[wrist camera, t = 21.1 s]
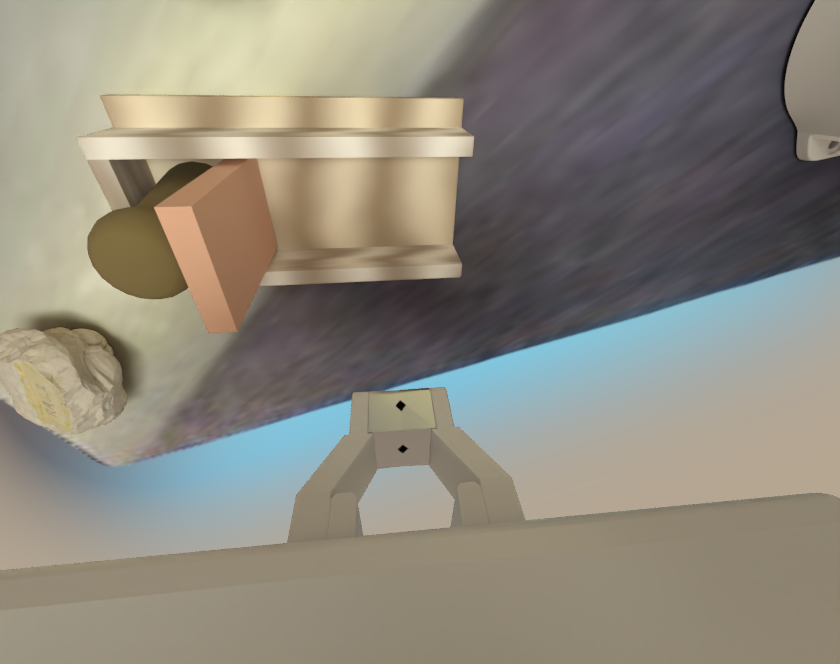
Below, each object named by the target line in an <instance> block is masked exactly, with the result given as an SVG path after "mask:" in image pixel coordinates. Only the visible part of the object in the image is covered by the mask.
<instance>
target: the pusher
mask: <svg viewBox="0 0 840 664" xmlns="http://www.w3.org/2000/svg"><path fill="white" fill-rule="evenodd" d="M154 209H155V211H156V213H157V216H158V218H159V220H160V223H161V225H162V227H163V230H164V232H165V234H166V236H167V239H168V241H169V243H170V246H171V248H172V250H173V253H174V255H175V257H176V260H177V262H178V264H179V267H180V269H181V271H182V274H183V276H184V278H185V280H186V283H187V285H188V287H189V290H190V292H191V294H192V297H193V299H194V301H195V304H196V306H197V308H198V311H199V313H200V315H201V318H202V320H203V322H204V324H205V327H206V329H207V331H208V333H222V332H237V331H238V329H239V327H240V325H241V323H242V321H243V319H244V317H245V314H246V312H247V310H248V308H249V306H250V304H251V302H252V300H253V298H254V296H255V293H256V291H257V289H258V287H259V285H260V283H261V281H262V279H263V277H264V275H265V272H266V270H267V268H268V266H269V264H270V262H271V260H272V258H273V256H274V254H275V251H276V249H277V247H278V246H277V241H276V237H275V233H274V229H273V225H272V221H271V216H270V212H269V208H268V204H267V200H266V195H265V191H264V187H263V183H262V179H261V175H260V170H259V166H258V162H257V158H237V159H223V160H222V161H220V162H219V163H218V164H216V165H215V166H213V167H212V168H210V169H209V170H207V171H206V172H204V173H203V174H202V175H200V176H199V177H197V178H196V179H194V180H193V181H191V182H190V183H188V184H187V185H186V186H184V187H183V188H181V189H180V190H178V191H177V192H175V193H174V194H172V195H171V196H169V197H168V198H167V199H165V200H164V201H162V202H161V203H159V204H158V205H156V206H155V207H154Z"/></svg>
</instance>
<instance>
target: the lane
mask: <svg viewBox="0 0 840 664" xmlns="http://www.w3.org/2000/svg"><path fill="white" fill-rule="evenodd" d="M100 98H101V100H102V102H103V104H104V107H105V109H106V111H107V114H108V116H109V118H110V120H111V123H112V125H113V127H114V128H110V129H106V130H102V131H99V132H95V133H91V134H87V135H83V136H79V137H76V139H77V141H78V143H79V145H80V147H81V149H82V151H83V153H84V155H85V157H86V159H87V161H88V163H89V165H90V167H91V169H92V171H93V173H94V175H95V177H96V179H97V181H98V183H99V185H100V187H101V189H102V191H103V193H104V195H105V197H106V199H107V201H108V203H109V205H110V207H111V209H112V211H113V210H116V209H121V208H127V207H134V206H137V205H138V204H139V203H140V202H141V201H142V199H143V198H144V197H145V196H146V195H147V194H148V193H149V192H150V190H151V189H152V188H153V187H154V186H155V185H156V184H157V183H158V182H159V180H160V179H161V178H162V177H163V176H164V175H165V174H166V173H167V171H168V170H170V169H171V168H173V167H174V166H176V165H177V164H179V163H185V162H190V161H193V162H200V163H206V164H209V165H211V166H215V165H216V164H218V163H219V162H220V161H222V160H223V159H237V158H257V162H258V166H259V170H260V175H261V179H262V183H263V187H264V191H265V195H266V200H267V204H268V208H269V212H270V216H271V221H272V225H273V229H274V233H275V237H276V241H277V246H278V247H277V249H276V251H275V254H274V256H273V258H272V260H271V262H270V264H269V266H268V268H267V270H266V272H265V275H264V277H263V279H262V281H261V283H260V285H259V286H274V285H296V284H318V283H341V282H363V281H385V280H408V279H430V278H452V277H461V270H462V263H461V261H460V259H459V256H458V254H457V252H456V250H455V248H454V246H453V232H454V219H455V206H456V192H457V179H458V166H459V157H472V155H473V145H474V136H473V135H471V134H470V133H468V132H467V131H465V130H464V129H463V128H461V126H462V113H463V99H462V98H420V97H314V96H208V95H101V96H100ZM188 289H189V288H188Z"/></svg>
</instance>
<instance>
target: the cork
mask: <svg viewBox="0 0 840 664" xmlns="http://www.w3.org/2000/svg"><path fill="white" fill-rule="evenodd" d="M212 167H213V166H211V165H209V164H206V163H200V162H193V161H190V162H185V163H179V164H177V165H176V166H174V167H173V168H171V169H170V170H168V171H167V173H166V174H165V175H164V176H163V177H162V178H161V179H160V180H159V182H158V183H157V184H156V185H155V186H154V187H153V188H152V189H151V190H150V192H149V193H148V194H147V195H146V196H145V197H144V198H143V199H142V201H141V202H140V203H139V204H138V205H137V206H134V207H127V208H121V209H116V210H113V211H112V212H110V213H108V214H107V215H105V216H103V217H102V218H100V219H99V220H97V222H96V223H95V225H94V226H93V228H92V230H91V232H90V233H89V235H88V255H89V257H90V260H91V262H92V265H93V267H94V268H95V269H96V271H97V272H98V273H99V274H100V276H101V277H102V278H103V279H104V280H106V281H107V282H108V283H109V284H111V285H112V286H113V287H115V288H117V289H118V290H120V291H122V292H124V293H126V294H129V295H132V296H136V297H139V298H145V299H163V298H169V297H173V296H175V295H177V294H179V293H181V292H183V291H184V290H186V289H188V288H189V287H188V285H187V283H186V280H185V278H184V276H183V274H182V271H181V269H180V267H179V264H178V262H177V260H176V257H175V255H174V253H173V250H172V248H171V246H170V243H169V241H168V239H167V236H166V234H165V232H164V230H163V227H162V225H161V223H160V220H159V218H158V216H157V213H156V211H155V209H154V207H155V206H156V205H158V204H159V203H161V202H162V201H164V200H165V199H167V198H168V197H169V196H171V195H172V194H174V193H175V192H177V191H178V190H180V189H181V188H183V187H184V186H186V185H187V184H188V183H190V182H191V181H193V180H194V179H196V178H197V177H199V176H200V175H202V174H203V173H204V172H206V171H207V170H209V169H210V168H212Z"/></svg>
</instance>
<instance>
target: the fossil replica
mask: <svg viewBox="0 0 840 664" xmlns="http://www.w3.org/2000/svg"><path fill="white" fill-rule="evenodd" d="M113 354H114V353H113V350H112V347H110V346H109V345H108V343H107V341H106V339H105V338H104V337H103V336H102V335H101V334H99V333H98V332H96V331H93V330H89V329H82V328H81V329H74V330H70V329H67V328H62V327H57V328H53V329H49V330H45V331H42V332H41V331H39V330H36V329H32V330H24V329H18V328H16V329H13V330H7V331H5V332H3V333H2V334H0V380H1V381H2V384H3V385H4V387H5V388H6V390H7V391H8V393H9V394H10V395H11V396H12V398H13V405H14V408H15V409H16V411H17V412H18V413H19V414H21V415H22V416H23V417H24V418H25V419H28V420H30V421H32V422H33V423H35V424H37V425H40V426H45V427H48V428H50V429H52V430H53V431H55V432H58V433H60V434H64V433H66V434H78V433H82V432H84V431H86V430H89V429H93V428H95V427H98V426H99V427H100V426H101V425H106V424H107V423H109V422H112V420H114V419H116V417H118V416H119V415H120V414H121V413H122V411H123V410H124V406H126V403H127V395H126V392H125V390H124V389H123V387H122V386H123V384H122V381H123V378H122V369H121V365H120V363H119V362H118V360H117V359H116V358H115V357H114V356H113Z"/></svg>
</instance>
